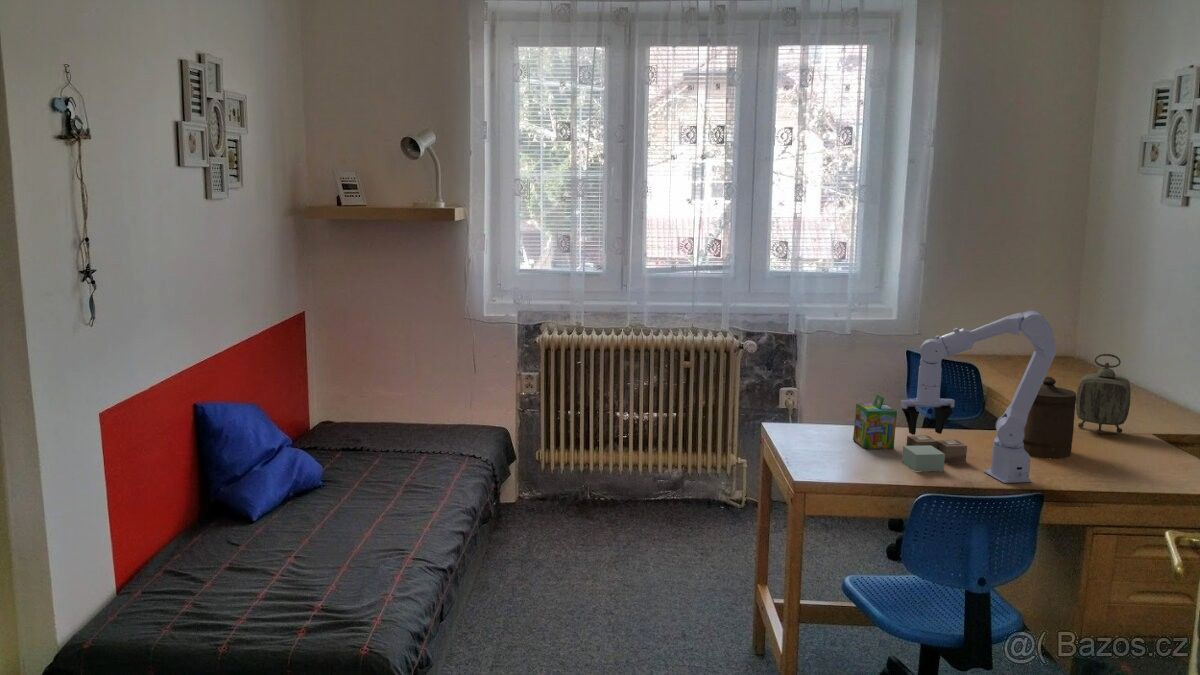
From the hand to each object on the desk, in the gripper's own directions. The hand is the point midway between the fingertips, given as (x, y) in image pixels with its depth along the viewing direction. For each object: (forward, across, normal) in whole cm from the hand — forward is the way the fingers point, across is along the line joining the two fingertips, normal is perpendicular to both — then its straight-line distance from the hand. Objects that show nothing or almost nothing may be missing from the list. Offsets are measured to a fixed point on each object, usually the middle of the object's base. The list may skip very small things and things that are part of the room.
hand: (925, 433), depth 239 cm
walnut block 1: (+10, -5, -10) cm, 15 cm away
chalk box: (+10, +4, -21) cm, 23 cm away
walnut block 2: (+10, -11, -5) cm, 15 cm away
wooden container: (+10, -42, -9) cm, 44 cm away
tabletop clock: (+10, -73, -25) cm, 78 cm away
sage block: (+10, 0, 0) cm, 10 cm away
